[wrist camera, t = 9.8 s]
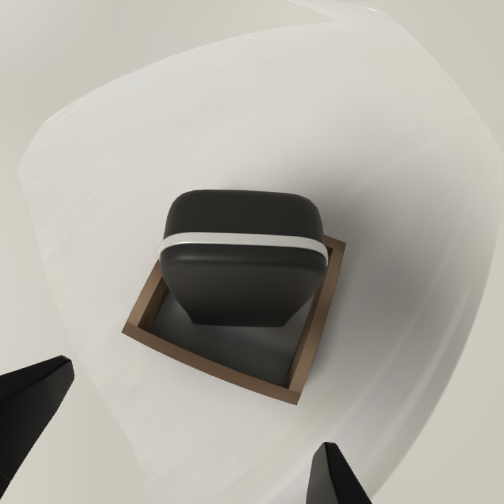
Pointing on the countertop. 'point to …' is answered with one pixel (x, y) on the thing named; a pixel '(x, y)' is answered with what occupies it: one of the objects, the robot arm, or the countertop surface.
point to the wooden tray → (238, 337)
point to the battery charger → (242, 256)
